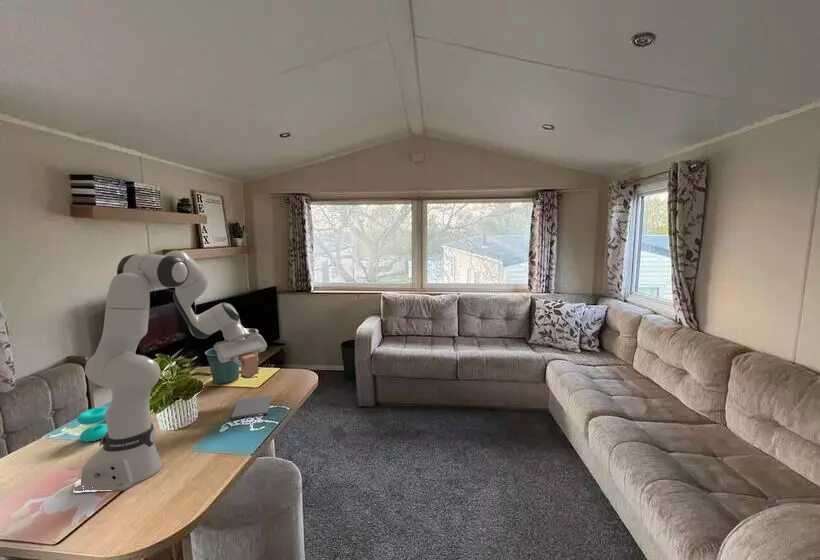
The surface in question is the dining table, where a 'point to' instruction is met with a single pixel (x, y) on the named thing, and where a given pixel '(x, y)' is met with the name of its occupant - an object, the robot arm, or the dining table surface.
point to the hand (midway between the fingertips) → (249, 363)
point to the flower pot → (222, 368)
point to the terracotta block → (249, 365)
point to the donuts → (92, 418)
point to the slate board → (252, 406)
